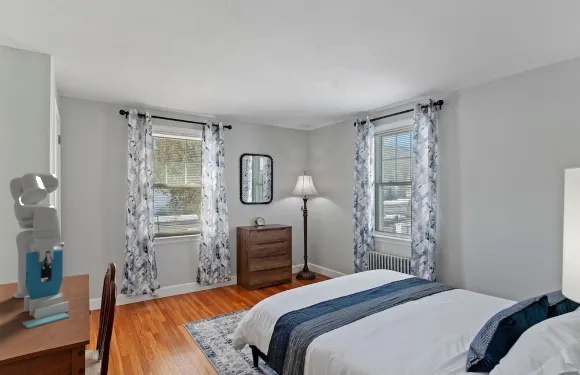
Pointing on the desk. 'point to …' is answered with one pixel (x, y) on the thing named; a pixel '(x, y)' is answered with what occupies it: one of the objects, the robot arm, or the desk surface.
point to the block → (34, 275)
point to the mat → (45, 320)
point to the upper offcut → (49, 301)
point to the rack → (45, 310)
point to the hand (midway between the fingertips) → (43, 276)
